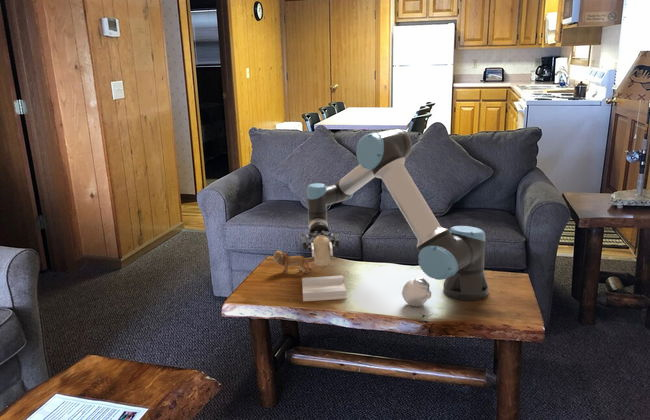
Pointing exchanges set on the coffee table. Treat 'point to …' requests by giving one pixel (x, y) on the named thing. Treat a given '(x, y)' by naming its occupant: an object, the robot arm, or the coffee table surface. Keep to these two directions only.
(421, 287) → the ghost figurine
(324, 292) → the tray
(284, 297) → the coffee table surface
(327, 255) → the candle
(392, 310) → the coffee table surface
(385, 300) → the coffee table surface
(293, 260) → the lion figurine
